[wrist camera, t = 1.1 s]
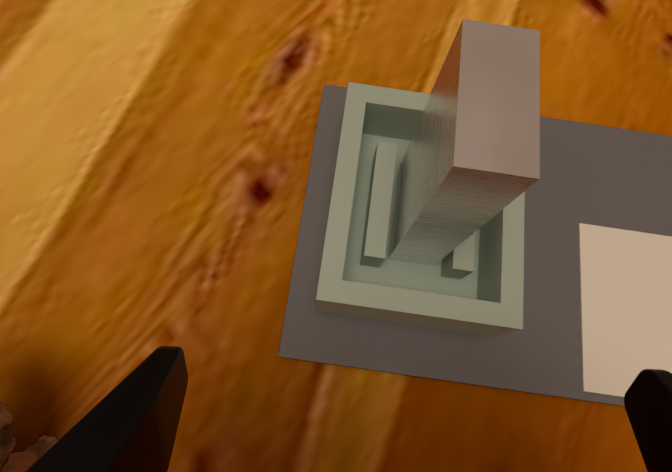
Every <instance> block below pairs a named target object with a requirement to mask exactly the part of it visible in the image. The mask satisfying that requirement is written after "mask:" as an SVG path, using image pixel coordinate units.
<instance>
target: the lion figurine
mask: <svg viewBox="0 0 672 472" xmlns="http://www.w3.org/2000/svg"><path fill="white" fill-rule="evenodd" d="M9 410H10V407H9V406H8V405H6V404H4V403H3V402H1V401H0V472H25V471H26V470H27V469H28V468H29V467H30V466H31V465H32V464H33V463H35V462H36V461H37V460H38V459H39V458H40V457H41V456H42V455H43V454H44V453H45V452H46V451H47V450H48V449H50V448H51V447H52V446H53V445H54V444H55V443H56V442H57V441H58V439H57V438H56V437H53V436H46V435H43V436H42V437H41V438H39V440H38V441H37V442H36V443H35V445H32V446H30V447H28V448H27V449H26V450H25V451H24V452H16V453H11V451H12V450H13V448H14V446H15V444H16V439H15V437H14V436H13V434H12V433H10V427H11V424H12V422H13V417H12V415H11V414H10V413H9Z"/></svg>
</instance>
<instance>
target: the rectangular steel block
mask: <svg viewBox="0 0 672 472" xmlns="http://www.w3.org/2000/svg"><path fill="white" fill-rule="evenodd" d="M539 179H540V31H538V30H532V29H525V28H518V27H512V26H505V25H498V24H492V23H485V22H479V21H472V20H465V19H463V20H462V22H461V25H460V27H459V29H458V32H457V34H456V36H455V39H454V41H453V43H452V45H451V48H450V50H449V52H448V55H447V57H446V59H445V62H444V64H443V66H442V69H441V71H440V73H439V76H438V78H437V80H436V82H435V85H434V87H433V89H432V92H431V94H430V96H429V99H428V101H427V103H426V106H425V108H424V110H423V112H422V115H421V117H420V119H419V122H418V124H417V126H416V129H415V131H414V133H413V136H412V138H411V140H410V143H409V145H408V147H407V149H406V152H405V154H404V156H403V159H402V161H401V163H400V166H399V168H398V170H397V176H396V186H395V195H394V205H393V214H392V224H391V233H390V243H389V252H388V260H395V261H402V262H409V263H416V264H423V265H429V266H435V265H436V264H437V263H438V262H439V261H441V260H442V259H443V258H444V257H445V256H447V255H448V254H449V253H450V252H452V251H453V250H454V249H455V248H456V247H458V246H459V245H460V244H461V243H462V242H464V241H465V240H466V239H467V238H469V237H470V236H471V235H472V234H473V233H475V232H476V231H477V230H478V229H479V228H481V227H482V226H483V225H484V224H486V223H487V222H488V221H489V220H490V219H492V218H493V217H494V216H495V215H496V214H498V213H499V212H500V211H501V210H502V209H504V208H505V207H506V206H507V205H509V204H510V203H511V202H512V201H513V200H515V199H516V198H517V197H518V196H519V195H521V194H522V193H523V192H524V191H526V190H527V189H528V188H529V187H530V186H532V185H533V184H534V183H535V182H536V181H538V180H539Z"/></svg>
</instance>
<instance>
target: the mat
mask: <svg viewBox="0 0 672 472" xmlns="http://www.w3.org/2000/svg"><path fill="white" fill-rule="evenodd" d="M347 89H348V88H345V87H338V86H331V85H325V84H324V88H323V94H322V100H321V106H320V112H319V118H318V124H317V130H316V136H315V141H314V147H313V153H312V159H311V165H310V171H309V177H308V183H307V189H306V195H305V201H304V207H303V213H302V218H301V224H300V230H299V236H298V242H297V248H296V254H295V260H294V266H293V272H292V278H291V284H290V289H289V295H288V301H287V307H286V313H285V319H284V325H283V331H282V337H281V343H280V349H279V355H278V357H285V358H292V359H299V360H306V361H313V362H320V363H327V364H334V365H341V366H348V367H355V368H362V369H369V370H376V371H383V372H390V373H397V374H404V375H411V376H418V377H425V378H432V379H439V380H446V381H453V382H460V383H467V384H474V385H481V386H488V387H495V388H502V389H509V390H516V391H523V392H530V393H537V394H544V395H551V396H558V397H565V398H572V399H579V400H585V401H592V402H599V403H606V404H613V405H620V406H625V405H624V396H625V393H626V391H627V390H628V389H629V387H630V386H631V384H632V383H633V381H634V380H635V378H636V377H637V375H638V374H639V373H640V372H641V371H642V370H644V369H661V370H666V371H668V372H670V373H672V136H667V135H660V134H653V133H647V132H640V131H633V130H626V129H620V128H613V127H606V126H600V125H593V124H586V123H580V122H573V121H566V120H559V119H553V118H546V117H540V179H539V180H538V181H536V182H535V183H534V184H533V185H532V186H530V187H529V188H528V189H527V190H526V191H525V208H524V288H523V330H517V331H511V332H505V333H500V334H494V335H488V336H487V335H480V334H473V333H466V332H459V331H452V330H445V329H438V328H431V327H424V326H418V325H411V324H404V323H397V322H390V321H383V320H376V319H369V318H362V317H355V316H348V315H341V314H334V313H327V312H320V311H315V309H316V296H317V289H318V282H319V276H320V269H321V263H322V256H323V249H324V243H325V236H326V229H327V223H328V216H329V209H330V203H331V196H332V189H333V183H334V176H335V169H336V163H337V156H338V149H339V143H340V136H341V129H342V123H343V116H344V109H345V103H346V96H347Z"/></svg>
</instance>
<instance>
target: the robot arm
mask: <svg viewBox="0 0 672 472" xmlns="http://www.w3.org/2000/svg"><path fill="white" fill-rule="evenodd" d="M187 383H188V374H187V368H186V363H185V357H184V352H183V350H182V348H181V347H175V346H161V347H159V348H157V349H156V350H155V351H154V352H152V353H151V354H150V355H149V356H148V357H147V358H146V359H145V360H144V361H143V362H142V363H141V364H140V365H139V366H137V367H136V368H135V369H134V370H133V371H132V372H131V373H130V374H129V375H128V376H127V377H126V378H125V379H124V380H122V381H121V382H120V383H119V384H118V385H117V386H116V387H115V388H114V389H113V390H112V391H111V392H110V393H109V394H107V395H106V396H105V397H104V398H103V399H102V400H101V401H100V402H99V403H98V404H97V405H96V406H95V407H94V408H92V409H91V410H90V411H89V412H88V413H87V414H86V415H85V416H84V417H83V418H82V419H81V420H80V421H79V422H77V423H76V424H75V425H74V426H73V427H72V428H71V429H70V430H69V431H68V432H67V433H66V434H65V435H64V436H62V437H61V438H60V439H59V440H58V441H57V442H56V443H55V444H54V445H53V446H52V447H51V448H50V449H48V450H47V451H46V452H45V453H44V454H43V455H42V456H41V457H40V458H39V459H38V460H37V461H36V462H35V463H33V464H32V465H31V466H30V467H29V468H28V469H27V470H26V471H25V472H167V470H168V467H169V463H170V459H171V455H172V450H173V446H174V442H175V437H176V433H177V428H178V424H179V419H180V415H181V411H182V406H183V402H184V397H185V393H186V389H187ZM624 405H625V409H626V412H627V414H628V417H629V420H630V423H631V426H632V429H633V431H634V434H635V437H636V440H637V443H638V446H639V448H640V451H641V454H642V457H643V460H644V462H645V465H646V468H647V471H648V472H672V373H670V372H668V371H666V370H661V369H644V370H642V371H641V372H640V373H639V374H638V375H637V377H636V378H635V380H634V381H633V383H632V384H631V386H630V387H629V389H628V390H627V391H626V393H625V396H624Z"/></svg>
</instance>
